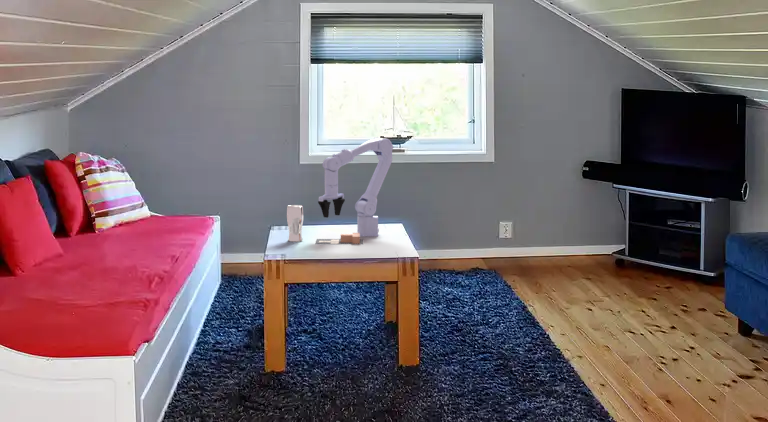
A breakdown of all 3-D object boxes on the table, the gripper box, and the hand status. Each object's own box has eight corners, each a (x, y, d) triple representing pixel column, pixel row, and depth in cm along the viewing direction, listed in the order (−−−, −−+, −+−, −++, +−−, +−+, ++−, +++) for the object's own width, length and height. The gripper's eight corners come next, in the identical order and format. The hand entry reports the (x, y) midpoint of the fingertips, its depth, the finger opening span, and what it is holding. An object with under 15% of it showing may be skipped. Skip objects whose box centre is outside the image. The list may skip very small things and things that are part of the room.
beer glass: (290, 242, 314) (290, 207, 312) (284, 239, 320) (284, 205, 318) (305, 241, 317) (305, 206, 315) (300, 238, 324) (299, 204, 321)
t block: (359, 239, 320) (359, 232, 320) (359, 243, 311) (359, 236, 311) (341, 239, 320) (341, 232, 319) (340, 243, 311) (340, 236, 311)
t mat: (363, 239, 322) (363, 239, 322) (363, 245, 310) (363, 244, 310) (316, 239, 321) (316, 238, 321) (314, 245, 309) (314, 244, 309)
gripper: (335, 182, 330) (335, 213, 332) (313, 185, 318) (313, 217, 320) (347, 184, 326) (347, 214, 328) (325, 187, 314) (325, 218, 316)
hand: (331, 216), depth 324 cm, fingers open, 7 cm apart
